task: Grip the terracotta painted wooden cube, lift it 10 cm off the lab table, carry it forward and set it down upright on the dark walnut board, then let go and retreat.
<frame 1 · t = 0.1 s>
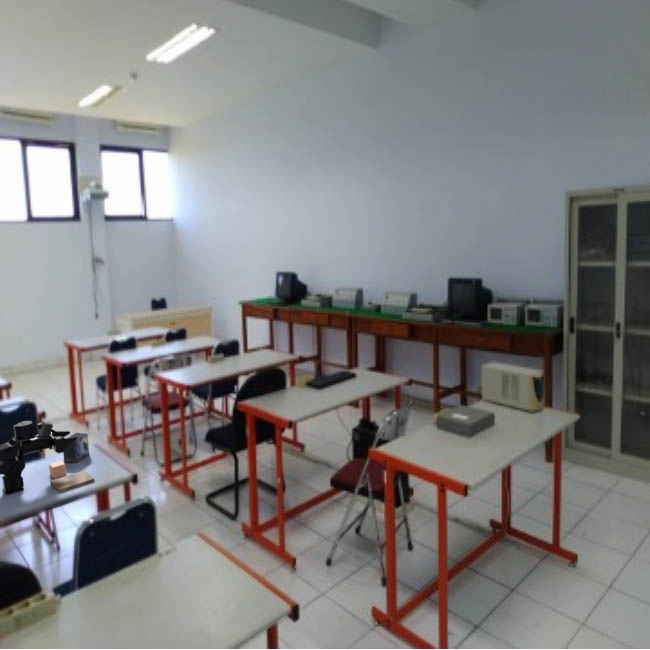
hand: (73, 435, 242), 17 cm above the table, tool horizontal, fingers open, 9 cm apart
walnut board: (72, 482, 234), on the table
small box: (77, 458, 258), on the table
terracotta cube: (58, 474, 242), on the table
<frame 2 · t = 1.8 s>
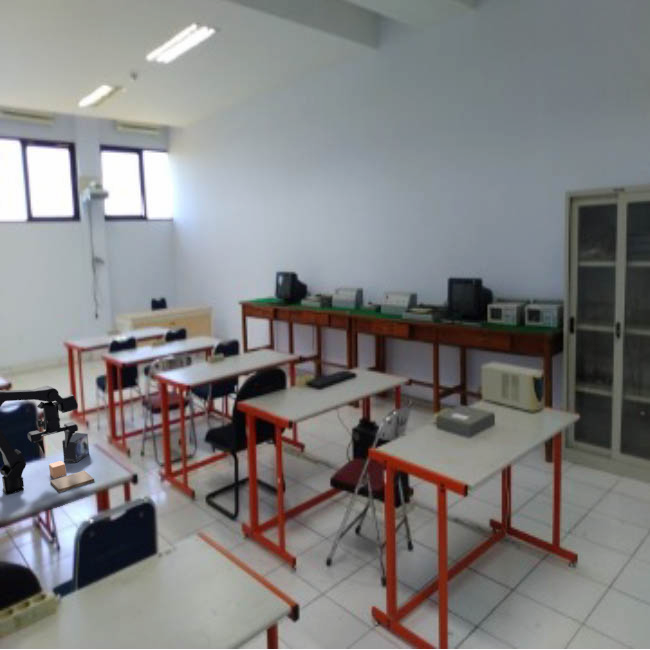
hand: (55, 450, 240), 11 cm above the table, tool pointing down, fingers open, 9 cm apart
nothing on the table moved.
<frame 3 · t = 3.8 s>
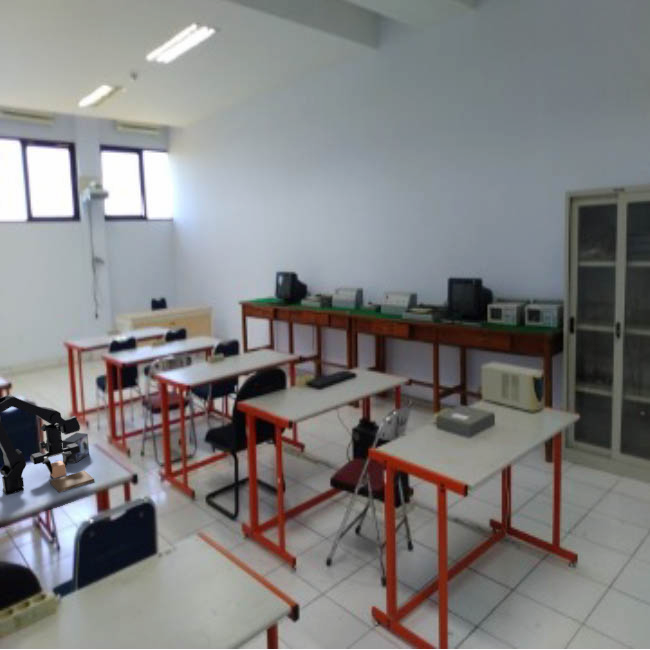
hand: (57, 472, 242), 1 cm above the table, tool pointing down, fingers closed on terracotta cube, 5 cm apart
terracotta cube: (58, 474, 242), on the table, touching gripper
everything else where it was.
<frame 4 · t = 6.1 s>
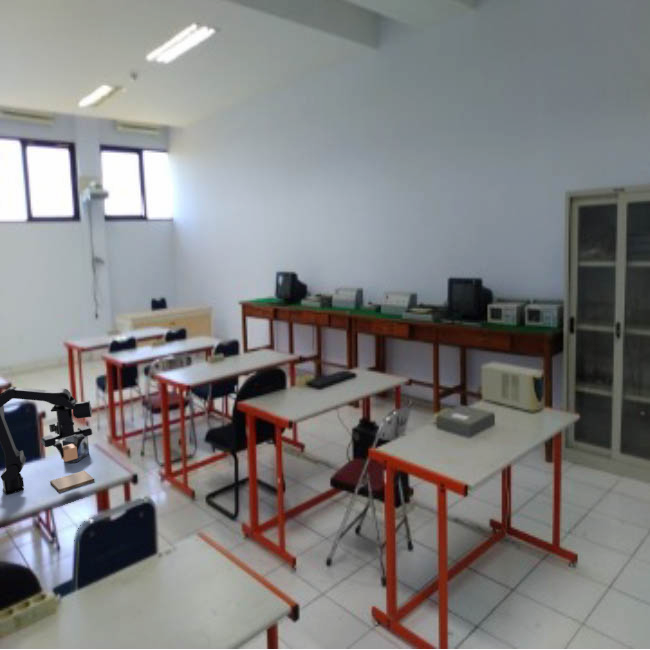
hand: (69, 455, 233), 12 cm above the table, tool pointing down, fingers closed on terracotta cube, 5 cm apart
terracotta cube: (69, 458, 233), point 10 cm above the table, touching gripper
everything else where it was.
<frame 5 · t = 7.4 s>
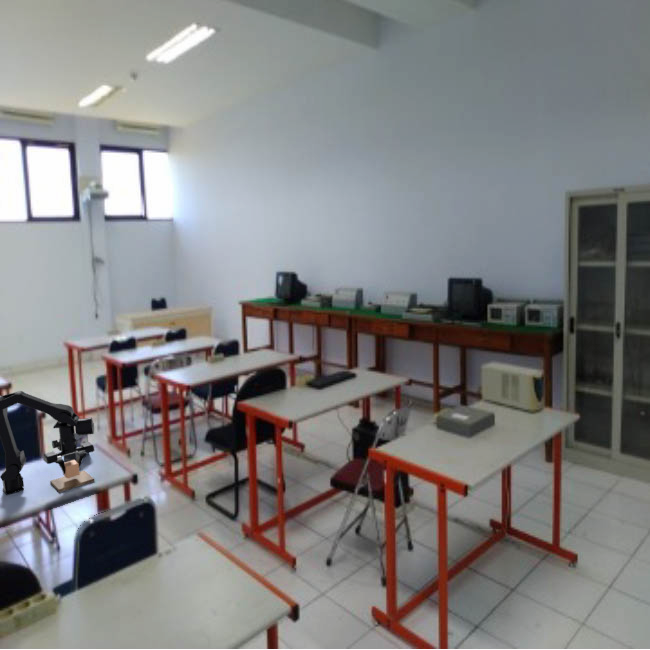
hand: (71, 471, 233), 5 cm above the table, tool pointing down, fingers closed on terracotta cube, 5 cm apart
terracotta cube: (71, 474, 234), point 3 cm above the table, touching gripper
everything else where it was.
when the fingers open (4 cm above the table, at t = 8.4 s): terracotta cube drops 2 cm, resting on walnut board.
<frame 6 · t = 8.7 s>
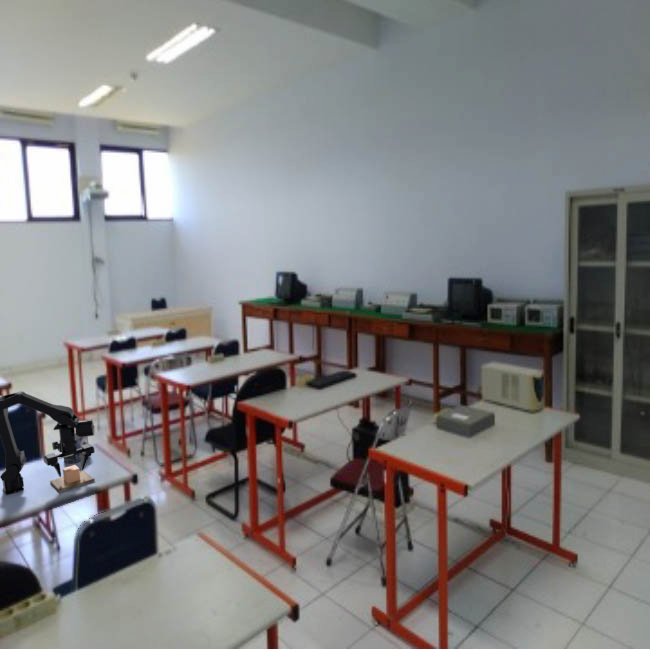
hand: (71, 473, 234), 4 cm above the table, tool pointing down, fingers open, 9 cm apart
terracotta cube: (72, 479, 234), point 1 cm above the table, touching walnut board
everything else where it was.
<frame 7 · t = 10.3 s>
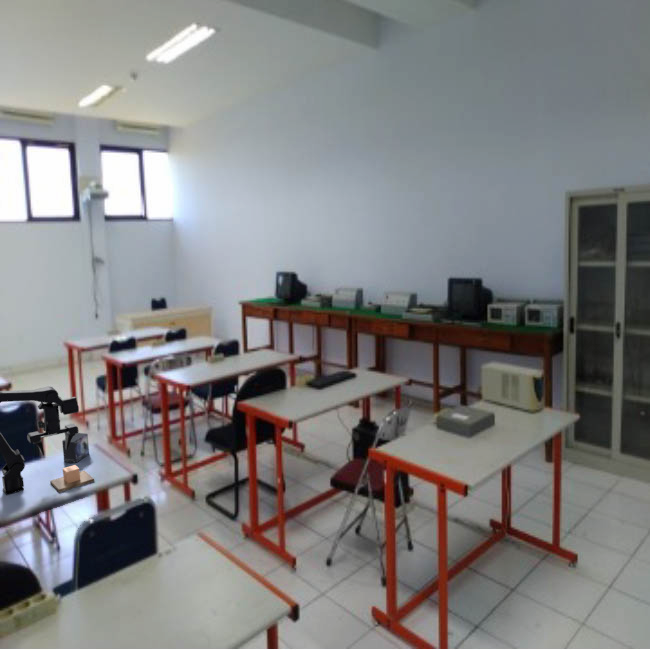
hand: (55, 452, 236), 12 cm above the table, tool pointing down, fingers open, 9 cm apart
nothing on the table moved.
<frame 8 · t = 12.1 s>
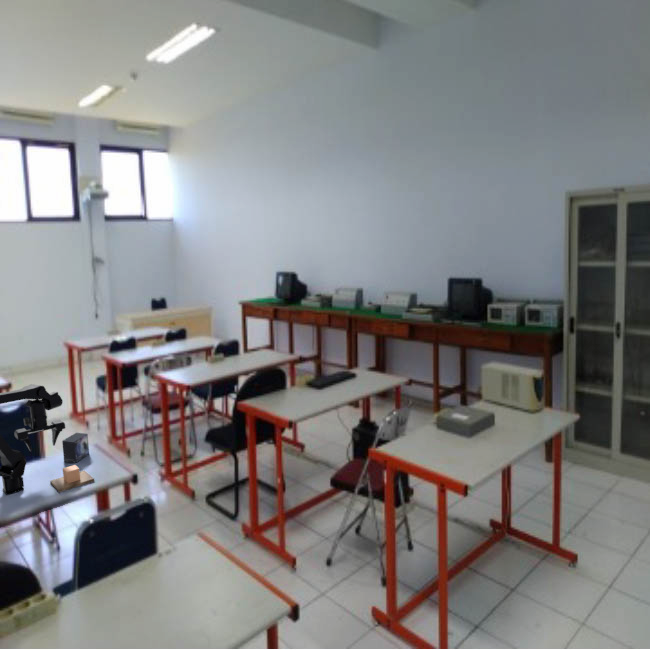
hand: (42, 448, 240), 12 cm above the table, tool pointing down, fingers open, 9 cm apart
nothing on the table moved.
at the end: terracotta cube inside the target area on the walnut board (0.0 cm from its centre), point 1.2 cm above the walnut board's base; terracotta cube tilted 0°; the gripper is holding nothing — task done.
